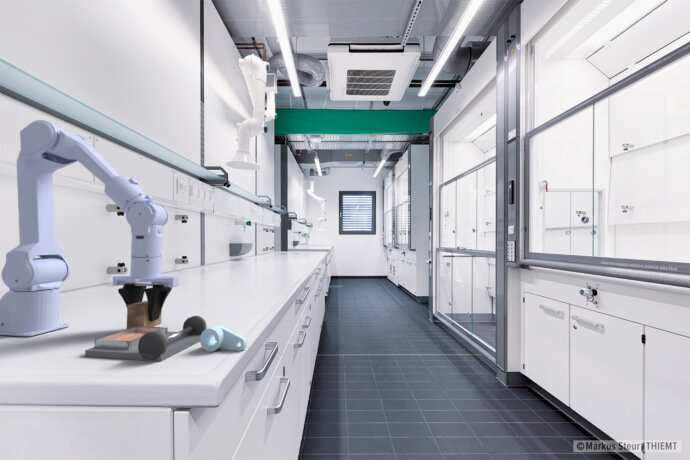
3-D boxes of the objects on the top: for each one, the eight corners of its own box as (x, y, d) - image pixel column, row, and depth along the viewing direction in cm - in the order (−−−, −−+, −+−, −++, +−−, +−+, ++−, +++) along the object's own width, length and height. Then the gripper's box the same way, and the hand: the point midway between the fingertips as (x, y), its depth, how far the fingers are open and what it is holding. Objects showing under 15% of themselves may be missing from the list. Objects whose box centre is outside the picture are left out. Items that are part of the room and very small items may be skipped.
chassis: (85, 356, 52) (86, 329, 52) (142, 335, 64) (142, 313, 64) (162, 361, 50) (162, 333, 50) (206, 338, 62) (206, 316, 62)
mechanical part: (198, 348, 55) (202, 326, 55) (207, 344, 58) (211, 322, 58) (236, 360, 53) (240, 337, 53) (245, 355, 55) (248, 333, 55)
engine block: (126, 329, 65) (127, 305, 66) (145, 323, 70) (145, 300, 70) (143, 330, 65) (144, 305, 65) (161, 323, 70) (161, 301, 70)
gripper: (100, 257, 65) (98, 322, 65) (163, 258, 63) (161, 326, 63) (128, 255, 72) (126, 314, 72) (186, 256, 70) (184, 317, 70)
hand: (144, 319), depth 68 cm, fingers closed on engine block, 4 cm apart
